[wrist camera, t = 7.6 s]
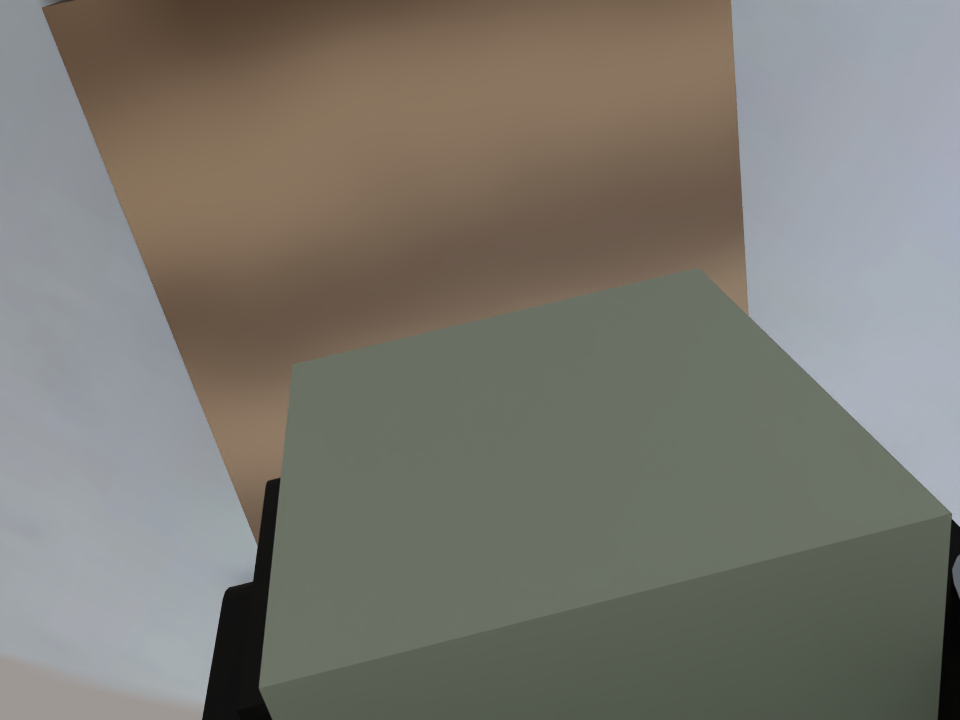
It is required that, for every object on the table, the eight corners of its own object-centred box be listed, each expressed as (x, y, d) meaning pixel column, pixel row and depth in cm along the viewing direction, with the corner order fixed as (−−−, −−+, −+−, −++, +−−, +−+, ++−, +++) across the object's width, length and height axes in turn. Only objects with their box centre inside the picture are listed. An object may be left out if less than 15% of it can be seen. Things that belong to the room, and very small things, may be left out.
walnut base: (80, -5, 20) (41, 7, 18) (673, -137, 21) (722, -144, 18) (266, 485, 27) (258, 549, 24) (714, 376, 27) (754, 427, 25)
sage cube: (291, 364, 12) (258, 688, 7) (698, 267, 12) (951, 514, 7) (391, 663, 14) (420, 1056, 9) (724, 580, 14) (923, 921, 9)
